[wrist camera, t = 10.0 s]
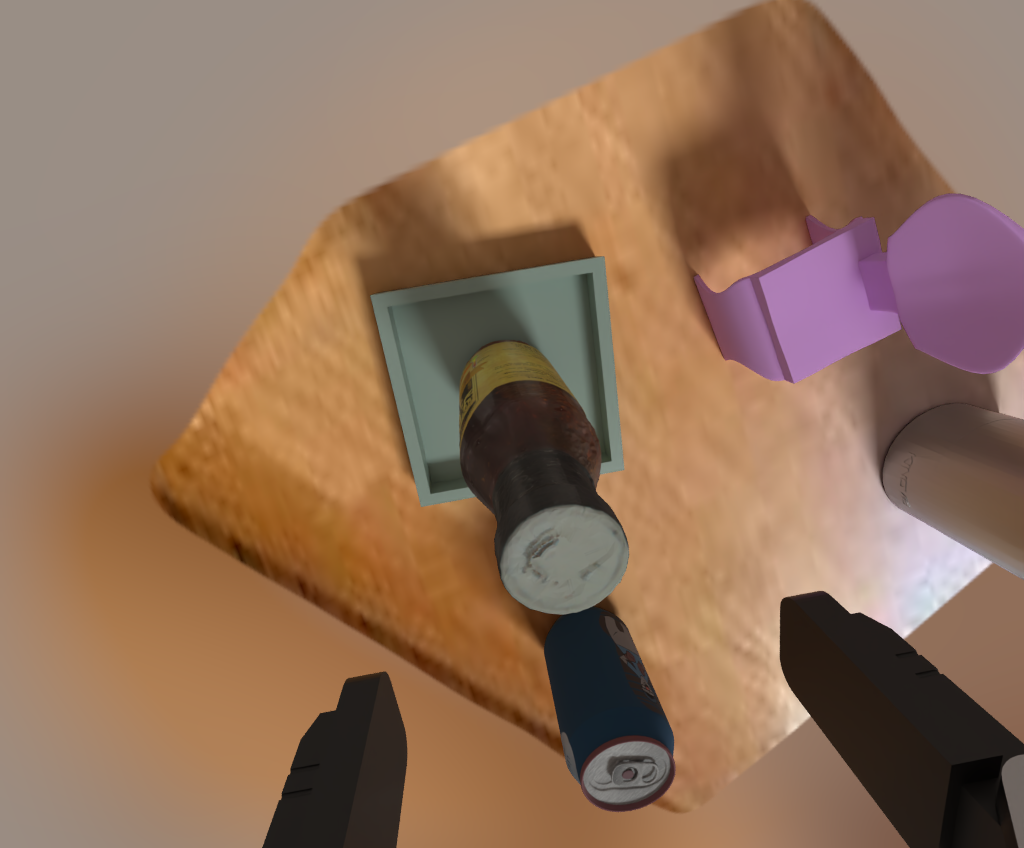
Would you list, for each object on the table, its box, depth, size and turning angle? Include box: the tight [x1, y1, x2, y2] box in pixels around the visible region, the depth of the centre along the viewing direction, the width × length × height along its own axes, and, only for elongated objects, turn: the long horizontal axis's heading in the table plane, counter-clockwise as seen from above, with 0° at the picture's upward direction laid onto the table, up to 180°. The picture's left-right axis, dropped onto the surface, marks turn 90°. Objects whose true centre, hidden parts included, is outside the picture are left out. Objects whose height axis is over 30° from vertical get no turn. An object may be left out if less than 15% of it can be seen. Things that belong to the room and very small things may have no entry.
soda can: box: [544, 607, 675, 812], centre depth 35 cm, size 7×7×12 cm
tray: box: [370, 256, 624, 507], centre depth 33 cm, size 14×14×2 cm
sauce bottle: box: [459, 340, 629, 615], centre depth 24 cm, size 7×6×20 cm
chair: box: [694, 194, 1024, 383], centre depth 27 cm, size 8×9×15 cm
